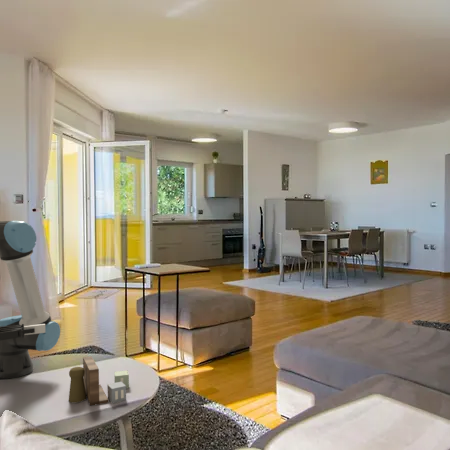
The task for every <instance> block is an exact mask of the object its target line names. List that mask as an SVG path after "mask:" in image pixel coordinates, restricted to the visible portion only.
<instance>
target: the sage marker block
mask: <svg viewBox="0 0 450 450" xmlns="http://www.w3.org/2000/svg"><path fill="white" fill-rule="evenodd" d="M129 375H130V374H129V371H128V370H122V371H121V370H120V371H114V383H117V382H122V383H123V384H125V385H126V389H129V388H130V379H129V377H130V376H129Z"/></svg>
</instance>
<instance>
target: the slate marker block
mask: <svg viewBox="0 0 450 450" xmlns="http://www.w3.org/2000/svg"><path fill="white" fill-rule="evenodd" d="M107 398H108V401H109V402H110V403H111V404H115V403H120V402H123V401H127V388H126V385H125V384H123V383H122V382H117V383H115V382H113V383H112V382H111V383H107Z"/></svg>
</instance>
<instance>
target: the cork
mask: <svg viewBox="0 0 450 450" xmlns="http://www.w3.org/2000/svg"><path fill="white" fill-rule="evenodd" d="M68 374H69V378H70V383H69V394H68V402H69V403H75V404H76V403H81V402H84V401H86V400H88V399H87V397H86V391H85V385H84V378H83V376H84V374H85V370H84V368H83V366H75V367H72V368H70V370H69V372H68Z"/></svg>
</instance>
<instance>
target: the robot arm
mask: <svg viewBox="0 0 450 450" xmlns="http://www.w3.org/2000/svg"><path fill="white" fill-rule="evenodd" d="M36 242H37V233H36V231H35V229H34V227H32V225H31V224H29V223H27V222H26V221H22V220H21V221H20V220H2V221H1V220H0V261H1V262H4V263H5V264H6V267H7V269H8V274H9V278H10V282H11V284H12V287H13V291H14V295H15V298H16V301H17V305H18V308H19V312H20V314H19V315H12V316H8V317H4V318H1V319H0V379H13V378H19V377H22V376H26V375H29V374H31V373H32V372H33V371H34V363H33V360H32V358H31V356H30V353H29V350H32V351H37V352H42V351H43V352H44V351H45V352H47V351H50V350H52V349H53V348H54V347H55V346H56V345H57V343H58V342H59V339H60V336H61V326H60V325H59V323H58V322H57V321H54V320H52V317H51V314H50V312H48V311H46V310H45V306H44V304H43V300H42V297H41V296H42V295H41V292H40V288H39V285H38V281H37V278H36V274H35V269H34V266H33V262H32V258H31V256H32V254H34V248H35V246H36V244H37V243H36Z"/></svg>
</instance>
